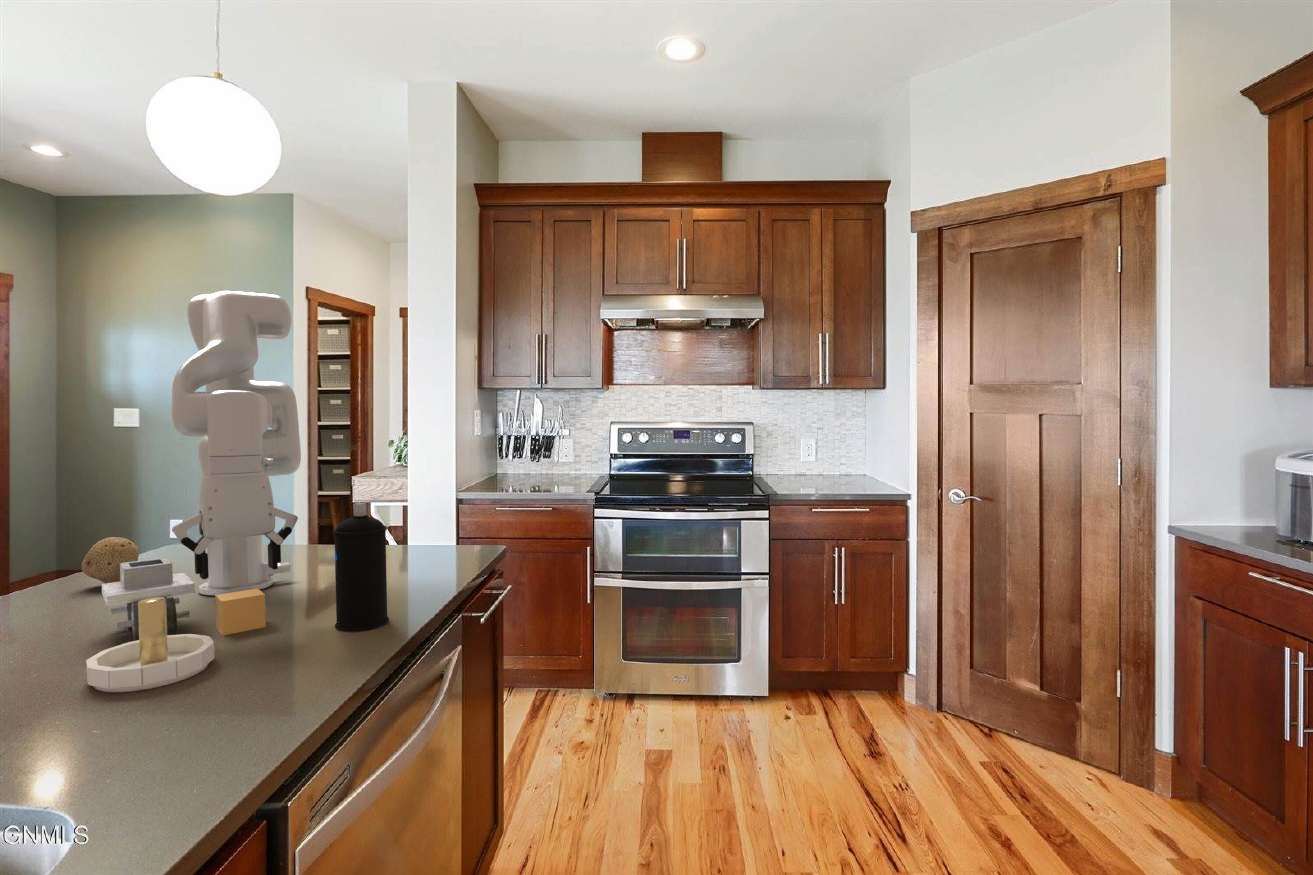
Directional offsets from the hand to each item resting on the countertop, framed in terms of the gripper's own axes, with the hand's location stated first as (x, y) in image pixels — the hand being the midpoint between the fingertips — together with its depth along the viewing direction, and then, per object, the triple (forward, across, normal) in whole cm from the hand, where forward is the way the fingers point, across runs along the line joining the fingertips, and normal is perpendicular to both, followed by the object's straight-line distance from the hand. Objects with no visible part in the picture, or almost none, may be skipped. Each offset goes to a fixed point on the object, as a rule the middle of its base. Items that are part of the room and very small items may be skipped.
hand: (239, 572), depth 108 cm
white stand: (+9, +11, -9) cm, 17 cm away
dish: (+10, +13, +13) cm, 21 cm away
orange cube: (+9, 0, -1) cm, 9 cm away
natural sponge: (+8, +13, -50) cm, 52 cm away
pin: (+9, +13, +13) cm, 20 cm away
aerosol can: (+10, -15, +11) cm, 21 cm away
